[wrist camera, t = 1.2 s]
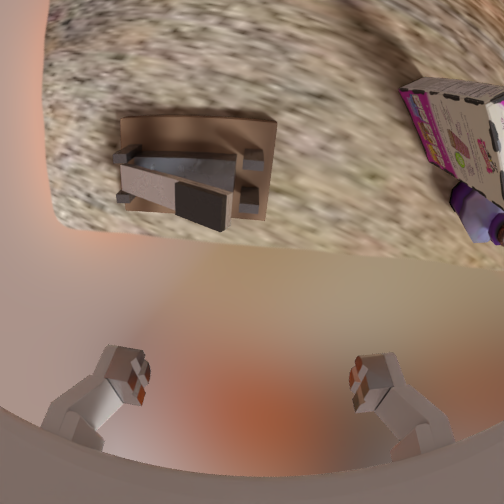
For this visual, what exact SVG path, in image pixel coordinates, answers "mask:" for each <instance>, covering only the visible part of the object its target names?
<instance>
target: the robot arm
mask: <svg viewBox="0 0 504 504" xmlns="http://www.w3.org/2000/svg"><path fill="white" fill-rule="evenodd" d="M144 358H145V354H144V352H143V350H138V349H133V348H127V347H121V346H115V345H109V344H108V345H107V346H106V347H105V349H104V351H103V353H102V355H101V358H100V360H99V362H98V364H97V366H96V369H95V371H94V373H93V375H89V376H87V377H86V378H84V379H83V380H82V381H80V382H79V383H77V384H76V385H75V386H73V387H72V388H71V389H69V390H68V391H67V392H65V393H64V394H62V395H61V396H60V397H58V398H57V399H55V400H54V401H53V402H51V404H50V406H49V408H48V411H47V413H46V416H45V418H44V420H43V423H42V425H41V427H38V426H36V425H34V424H32V423H30V422H28V421H26V420H24V419H22V418H20V417H18V416H16V415H14V414H13V413H11V412H9V411H7V410H6V409H4V408H2V407H1V406H0V504H504V421H502V422H500V423H498V424H496V425H494V426H492V427H490V428H488V429H486V430H484V431H481V432H479V433H477V434H475V435H472V436H470V437H468V438H466V439H463V440H460V441H458V442H455V439H454V436H453V433H452V430H451V426H450V423H449V421H448V418H447V416H446V415H445V414H444V413H443V412H442V411H440V410H439V409H438V408H437V407H436V406H435V405H433V404H432V403H431V402H430V401H429V400H427V399H426V398H425V397H424V396H423V395H421V394H420V393H419V392H418V391H417V390H415V389H414V388H413V387H412V386H411V385H406V382H405V380H404V376H403V374H402V371H401V368H400V366H399V363H398V360H397V357H396V355H395V354H394V353H393V352H390V353H382V354H381V353H378V354H370V355H359V356H357V357H356V359H355V366H354V367H352V368H351V371H350V375H349V386H350V390H351V391H352V392H353V393H354V394H355V395H354V397H353V399H352V400H353V406H354V410H355V413H360V412H370V411H375V413H376V414H377V416H378V417H380V419H381V420H382V421H383V422H384V423H385V425H386V426H387V427H388V428H389V429H390V430H391V432H392V433H393V434H394V435H395V436H396V437H397V438H398V439H399V441H400V442H399V443H398V444H397V445H395V446H394V447H393V448H392V449H391V451H390V454H391V459H392V462H391V463H386V464H382V465H377V466H373V467H368V468H362V469H356V470H350V471H344V472H336V473H327V474H318V475H306V476H289V477H288V476H287V477H245V476H227V475H215V474H205V473H197V472H189V471H182V470H176V469H171V468H165V467H160V466H154V465H150V464H145V463H141V462H137V461H133V460H129V459H125V458H121V457H118V456H115V455H111V454H108V453H104V452H102V449H103V446H104V442H105V441H104V439H103V438H102V437H101V436H100V435H99V434H98V433H97V432H96V430H97V429H98V428H99V427H101V425H103V423H105V422H106V421H107V419H109V418H110V417H111V416H112V415H113V414H114V413H115V412H116V411H117V410H118V409H119V408H120V407H121V406H122V405H123V403H127V404H132V405H138V406H142V404H143V401H144V397H145V394H146V392H145V390H144V387H145V386H146V385H148V384H149V380H150V374H151V370H150V365H149V363H148V362H147V361H146V360H145V359H144Z"/></svg>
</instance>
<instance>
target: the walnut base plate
mask: <svg viewBox="0 0 504 504" xmlns="http://www.w3.org/2000/svg"><path fill="white" fill-rule="evenodd" d="M120 130H121V149H123V148H124V147H126V146H128V145H129V144H142V151H190V152H210V153H226V154H237V163H236V176H235V188H234V193H233V198H232V212H231V218H240V219H251V220H262V221H265V217H266V209H267V201H268V194H269V186H270V178H271V170H272V163H273V155H274V147H275V139H276V131H277V122H276V121H269V120H260V119H249V118H237V117H222V116H199V115H149V116H127V117H124V118H121V119H120ZM245 148H249V149H259V150H263V153H264V169H263V171H254V170H243V169H242V167H243V158H244V152H245ZM128 163H129V164H133V165H134V158H133V159H132V160H130V161H129V162H128ZM122 164H124V163H122ZM242 186H244V187H255V188H259V212H258V214H251V213H240V212H239V202H240V195H241V187H242ZM125 207H126V210H127V211H145V212H161V213H175V210H172V209H170V208H167V207H165V206H162V205H159V204H157V203H154V202H151V201H149V200H146V199H143V198H141V197H138V196H136V197H135V198H134V199H133V200H132V201H131V203H125Z"/></svg>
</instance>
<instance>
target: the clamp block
mask: <svg viewBox="0 0 504 504" xmlns="http://www.w3.org/2000/svg"><path fill="white" fill-rule="evenodd" d="M133 158H134V165H137V166H141V167H145V168H148V169H152V170H156V171H160V172H163V173H167V174H171V175H175V176H178V177H182V178H185V179H189V180H192V181H196V182H199V183H203V184H206V185H210V186H213V187H216V188H220V189H223V190H226V191H230V192H233V193H234V188H235V176H236V163H237V154H226V153H210V152H190V151H142V144H129V145H128V146H126V147H124V148H123V149H121V150H119V151H117V152H116V153H114V154H113V163H128V162H129V161H130V160H132V159H133ZM242 169H243V170H254V171H263V169H264V153H263V150H259V149H249V148H245V152H244V158H243V167H242ZM135 197H136V196H135V195H133V194H130V193H127V192H125V191H122V190H120V191H119V192H118V193H117V194H116V198H117V203H131V201H132V200H133V199H134V198H135ZM239 212H240V213H251V214H258V212H259V188H255V187H244V186H242V187H241V195H240V202H239Z"/></svg>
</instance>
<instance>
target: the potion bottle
mask: <svg viewBox="0 0 504 504" xmlns="http://www.w3.org/2000/svg"><path fill="white" fill-rule="evenodd" d="M449 203H450V205H451V207H452V208H453V210H454V212H456V213H457V215H458V216H459V218H460V220H461V222H462V224H463V225H464V227H465V229H466V231H467V233H468V234H469V236H470V238H471V240H472V241H473V243H482V242H488V241H489V240H491V241H492V242H493V243H494V244H495V245H502V246H503V247H504V211H503V210H501V209H500V208H499V207H497V206H496V205H495V204H493V203H492V202H491V201H489V200H488V199H487V198H485V197H484V196H482V195H481V194H479V193H478V192H477V191H475V190H474V189H472V188H471V187H469V186H468V185H466V184H465V183H463V182H462V181H460V182H459V183H458V184H457V185H456V186H455V187H454V188H453V189H452V192H451V197H450V202H449Z"/></svg>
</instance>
